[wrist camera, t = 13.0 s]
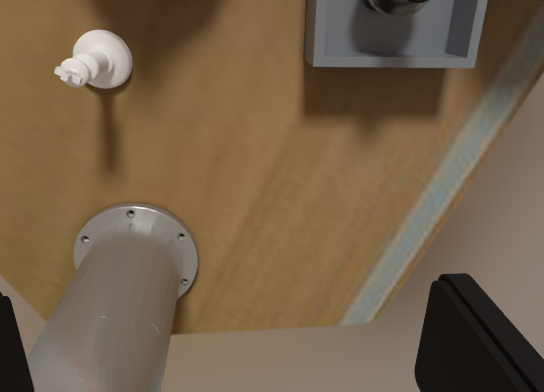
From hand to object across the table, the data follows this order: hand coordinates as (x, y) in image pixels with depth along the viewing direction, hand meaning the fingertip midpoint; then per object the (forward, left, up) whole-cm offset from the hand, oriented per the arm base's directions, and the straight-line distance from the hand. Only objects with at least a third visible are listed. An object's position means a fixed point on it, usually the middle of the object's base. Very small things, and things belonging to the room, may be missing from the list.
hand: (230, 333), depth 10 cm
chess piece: (+2, +11, -34) cm, 35 cm away
